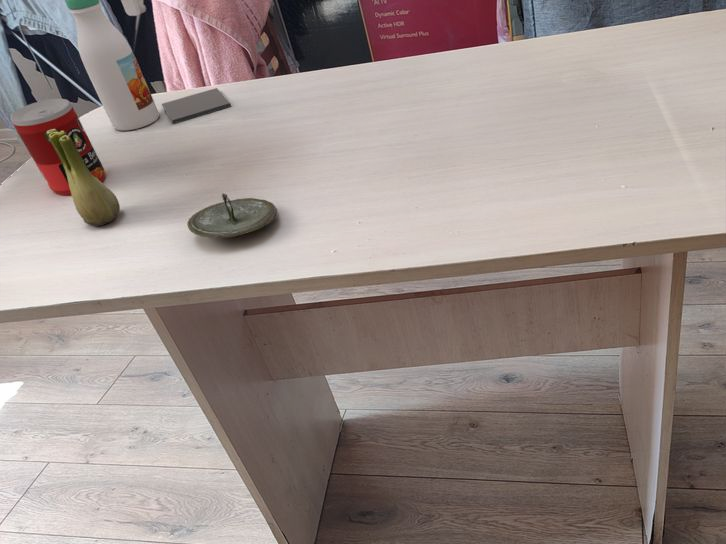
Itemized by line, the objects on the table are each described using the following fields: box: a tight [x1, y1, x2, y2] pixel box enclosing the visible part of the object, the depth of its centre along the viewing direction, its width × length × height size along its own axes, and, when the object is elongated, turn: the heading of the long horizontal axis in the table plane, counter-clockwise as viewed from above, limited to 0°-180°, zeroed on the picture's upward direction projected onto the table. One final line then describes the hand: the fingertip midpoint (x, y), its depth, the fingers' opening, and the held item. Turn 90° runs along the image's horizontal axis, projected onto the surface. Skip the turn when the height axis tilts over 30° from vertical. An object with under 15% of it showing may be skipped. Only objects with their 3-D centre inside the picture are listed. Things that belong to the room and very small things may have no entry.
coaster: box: [161, 87, 232, 125], centre depth 117 cm, size 10×10×1 cm
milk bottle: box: [64, 0, 160, 131], centre depth 108 cm, size 8×8×20 cm
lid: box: [186, 193, 278, 239], centre depth 81 cm, size 11×10×5 cm
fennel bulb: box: [46, 129, 121, 227], centre depth 84 cm, size 6×5×12 cm
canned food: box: [9, 98, 106, 196], centre depth 94 cm, size 8×8×11 cm
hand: (163, 2), depth 81 cm, fingers open, 8 cm apart
